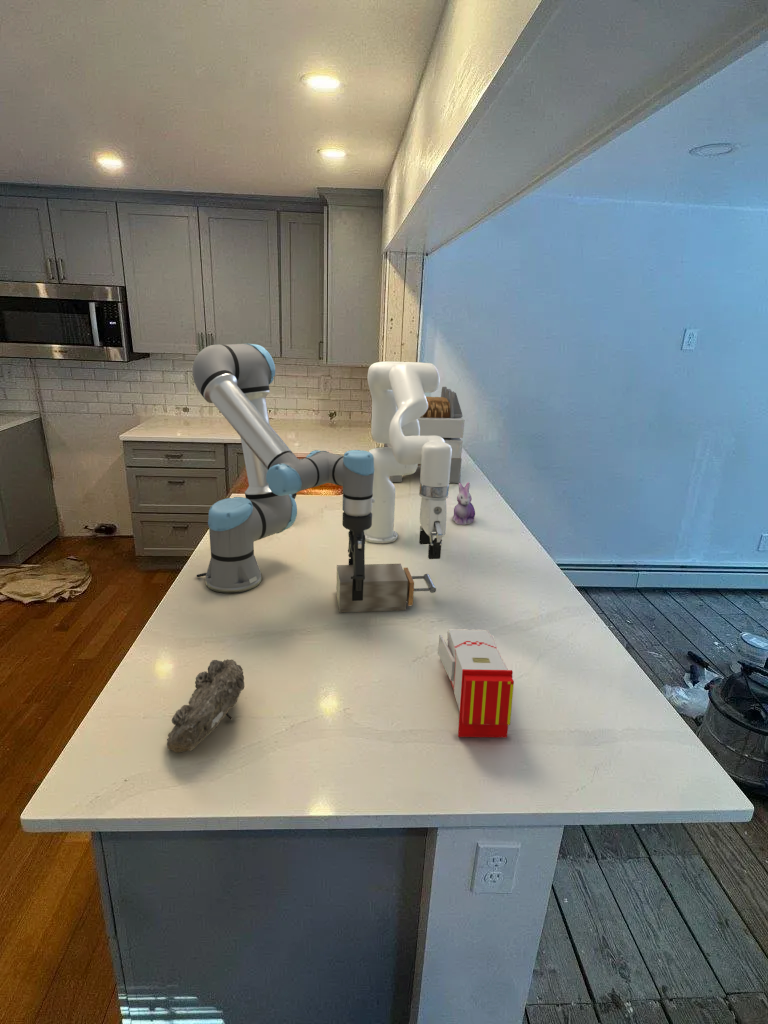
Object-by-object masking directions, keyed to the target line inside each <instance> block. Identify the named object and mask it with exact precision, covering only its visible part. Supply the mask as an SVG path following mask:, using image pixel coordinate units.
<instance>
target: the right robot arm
mask: <svg viewBox="0 0 768 1024" xmlns="http://www.w3.org/2000/svg"><path fill="white" fill-rule="evenodd" d="M440 382H441V378H440V373H439V370H438V368H437V366H435V364H434V363H431V362H422V361H396V360H395V361H394V360H393V361H392V360H391V361H390V360H389V361H388V360H387V361H386V360H385V361H377V362H374V363H372V364H371V365H370V366H369V367H368V370H367V385H368V389H369V393H370V396H371V423H370V424H371V425H370V426H371V427H370V429H371V430H370V433H371V438H372V440H373V442H375V443H376V444H381V445H382V444H383V445H384V444H391V447H384V446H380V447H378V446H377V447H374V448H371V449H369V450H368V452H370V453H371V454H372V455H373V457H374V479H373V499H374V500H375V502H374V503H372V511H371V513H372V526H371V527H370V528H369V529H367V530H364V535H365V542H368V543H373V544H389V543H393V542H395V541H397V540H398V537H399V534H398V532H397V531H396V530H395V528H394V527H395V510H396V509H395V508H396V507H395V506H396V491H397V490H396V486H395V484H394V482H391V480H390V478H389V476H397V475H402V476H410V475H413V474H414V473H416V472H417V469H418V467H419V466H418V464H421V466H420V471H419V472H420V473H419V474H420V475H419V488H418V489H419V490H418V495H419V496H420V499H421V501H420V509H419V510H420V511H419V524H420V526H419V538H418V539H419V540H418V543H419V545H422V546H423V545H428V551H427V559H428V560H440V559H441V558H442V557H441V555H442V545H443V536H445V535H446V533H447V499H448V497H449V492H450V491H449V490H450V489H449V488H450V483H449V479H450V467H451V455H452V448H451V446H450V445H449V444H447V443H445V441H444V439H443V438H442V437H440V436H435V435H431V436H420V426H419V422H418V418H420V417H421V416H423V415H424V414H425V413H426V411H427V409H428V402H427V399H426V397H427V396H426V394H429V393H435V392H436V391H437V390H438V388H439V386H440Z"/></svg>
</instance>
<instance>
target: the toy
mask: <svg viewBox="0 0 768 1024" xmlns="http://www.w3.org/2000/svg"><path fill="white" fill-rule="evenodd" d="M446 640H447V643H446V641H445V639H444V636H443V635H442V634H439V637H438V646H437V656H438V657H439V659H440V661H441V663H442V666H443V668H444V670H445V672H446V674H447V677H448V679H449V681H450V684H451V687H452V690H453V693H454V697H455V701H456V705H457V708H458V711H459V714H458V715H459V716H458V730H457V731H458V732H457V737H458V738H508V731H509V726H510V725H511V717H512V707H513V697H514V696H513V695H514V684H515V680H514V679H513V673H514V671H513V670H512V669H508V667H507V665H506V662H505V661H504V659H503V658H502V655H501V653H500V651H499V649H498V647H497V643H496V639H495V637H494V635H493V634H491V632H490V631H489V629H467V628H466V629H465V628H463V629H461V628H460V629H459V628H448V630H447V639H446Z"/></svg>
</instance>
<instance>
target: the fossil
mask: <svg viewBox="0 0 768 1024" xmlns="http://www.w3.org/2000/svg"><path fill="white" fill-rule="evenodd" d="M243 670H244V669H243V667H242V665H240V664H237V662H236V661H235V660H234V659H232V658H231V659H227V658H226V659H224V660H223V661H222V660H217V659H212V660H211V661H210V663H209V665H208V666H207V671H201V672H199V673H198V674H197V675H196V676H195V680H194V684H195V685H194V687H195V689H194V690H193V693H192V694H191V697H190V698H189V700H188V704H184V705H182V706H181V707H180V709H177V710H176V711H175V713H174V715H173V716H172V718H171V723H172V724H173V727H172V730H171V731H170V732H168V734H167V738H166V741H167V742H166V745H167V749H168V750H169V751H173V752H174V753H176V754H178V753H182V752H188V751H189V752H192V751H193V750H195V748H196V747H197V746H199V744H200V743H201V742H203V741H204V740H205V739H206V738H207V737H208V736H209V735H210V734H211V733H212V732H214V730H215V729H217V727H218V726H219V724H220V722H221V721H222V720H223V719H224V718H225V716H226V717H227V719H229V720H233V717H232V715H230V714H229V710H230V709H231V708H234V706H235V704H236V703H237V702H238V699H239V697H240V695H241V693H242V691H243V690H245V689H244V688H245V675H244V671H243Z"/></svg>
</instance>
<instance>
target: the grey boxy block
mask: <svg viewBox="0 0 768 1024" xmlns="http://www.w3.org/2000/svg"><path fill="white" fill-rule="evenodd" d="M403 569H404V567H403V565H402V563H372V564H371V563H369V564H368V563H367V564H366V563H365V580H364V581H363V600H362V601H352V585H353V579H351V576H354V571H353V565H349V564H336V592H335V593H336V600H337V606H338V613H341V614H342V613H362V612H363V613H365V612H366V613H367V612H389V611H406V610H407V601H406V600H407V585H408V580H407V577H406V575H405V573H404V570H403Z"/></svg>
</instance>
